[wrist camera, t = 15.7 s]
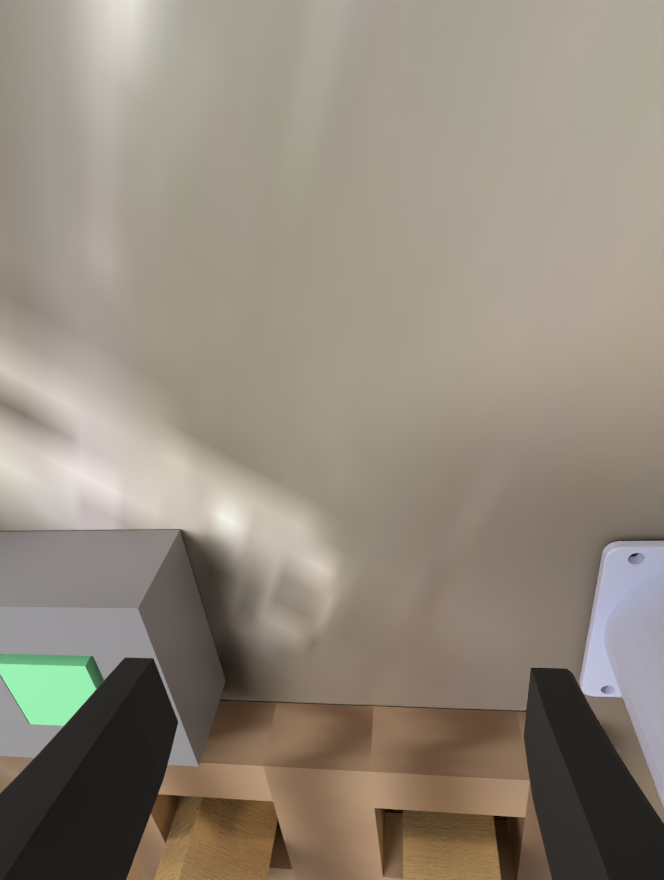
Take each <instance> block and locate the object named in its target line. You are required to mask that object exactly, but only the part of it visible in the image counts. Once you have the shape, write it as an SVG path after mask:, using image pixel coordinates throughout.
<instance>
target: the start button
mask: <svg viewBox="0 0 664 880" xmlns="http://www.w3.org/2000/svg"><path fill="white" fill-rule="evenodd" d="M0 675H1V677H2V678H3V680H4V682H5V683H6V685H7V686H8V688H9V690H10V691H11V693H12V695H13V696H14V698H15V700H16V701H17V703H18V705H19V706H20V708H21V710H22V711H23V713H24V715H25V716H26V718H27V720H28V721H29V723H30V724H37V725H59V726H64V725H65V724H66V723H67V722H68V721H69V720H70V718H71V717H72V716H73V715H74V714H75V713H76V712H77V711H78V709H79V708H80V707H81V706H82V705H83V704H84V703H85V702H86V700H87V699H88V698H89V697H90V696H91V695H92V694H93V692H94V691H95V690H96V689H97V688H98V687H99V686H100V685H101V683H102V682H103V681H104V679H103V676H102V674H101V672H100V670H99V668H98V666H97V664H96V661H95V659H94V657H93V656H72V655H32V654H0Z"/></svg>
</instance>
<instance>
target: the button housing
mask: <svg viewBox="0 0 664 880" xmlns="http://www.w3.org/2000/svg"><path fill="white" fill-rule="evenodd" d="M0 654H32V655H72V656H93V657H94V659H95V661H96V664H97V666H98V668H99V670H100V672H101V674H102V676H103V679H104V680H105V679H106V678H107V677H108V675H109V674H110V673H111V672H112V671H113V670H114V669H115V668H116V667H117V665H118V664H119V663H120V662H121V661H122V660H123V659H124V658H154V661H155V663H156V666H157V669H158V671H159V674H160V676H161V679H162V681H163V684H164V687H165V689H166V692H167V694H168V697H169V699H170V702H171V704H172V707H173V710H174V712H175V715H176V717H177V720H178V725H177V729H176V733H175V737H174V741H173V746H172V750H171V754H170V757H169V761H168V765H177V766H196V767H199V765H200V761H201V758H202V755H203V752H204V749H205V745H206V742H207V739H208V736H209V733H210V730H211V726H212V723H213V720H214V717H215V714H216V710H217V707H218V704H219V701H220V698H221V694H222V691H223V688H224V685H225V682H226V680H225V676H224V673H223V670H222V667H221V663H220V660H219V657H218V653H217V650H216V647H215V643H214V640H213V637H212V634H211V630H210V627H209V624H208V620H207V617H206V614H205V610H204V607H203V604H202V601H201V597H200V594H199V591H198V587H197V584H196V581H195V577H194V574H193V571H192V568H191V564H190V561H189V558H188V554H187V551H186V548H185V544H184V541H183V538H182V535H181V531H180V530H101V531H6V532H0ZM62 727H63V726H59V725H37V724H30V723H29V721H28V720H27V718H26V716H25V715H24V713H23V711H22V710H21V708H20V706H19V705H18V703H17V701H16V700H15V698H14V696H13V695H12V693H11V691H10V690H9V688H8V686H7V685H6V683H5V682H4V680H3V678H2V677H1V675H0V756H14V757H32V758H35V757H36V756H37V755H38V754H39V753H40V751H41V750H42V749H43V748H44V747H45V746H46V745H47V744H48V743H49V742H50V741H51V739H52V738H53V737H54V736H55V735H56V734H57V733H58V732H59V731H60V730H61V729H62Z"/></svg>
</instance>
